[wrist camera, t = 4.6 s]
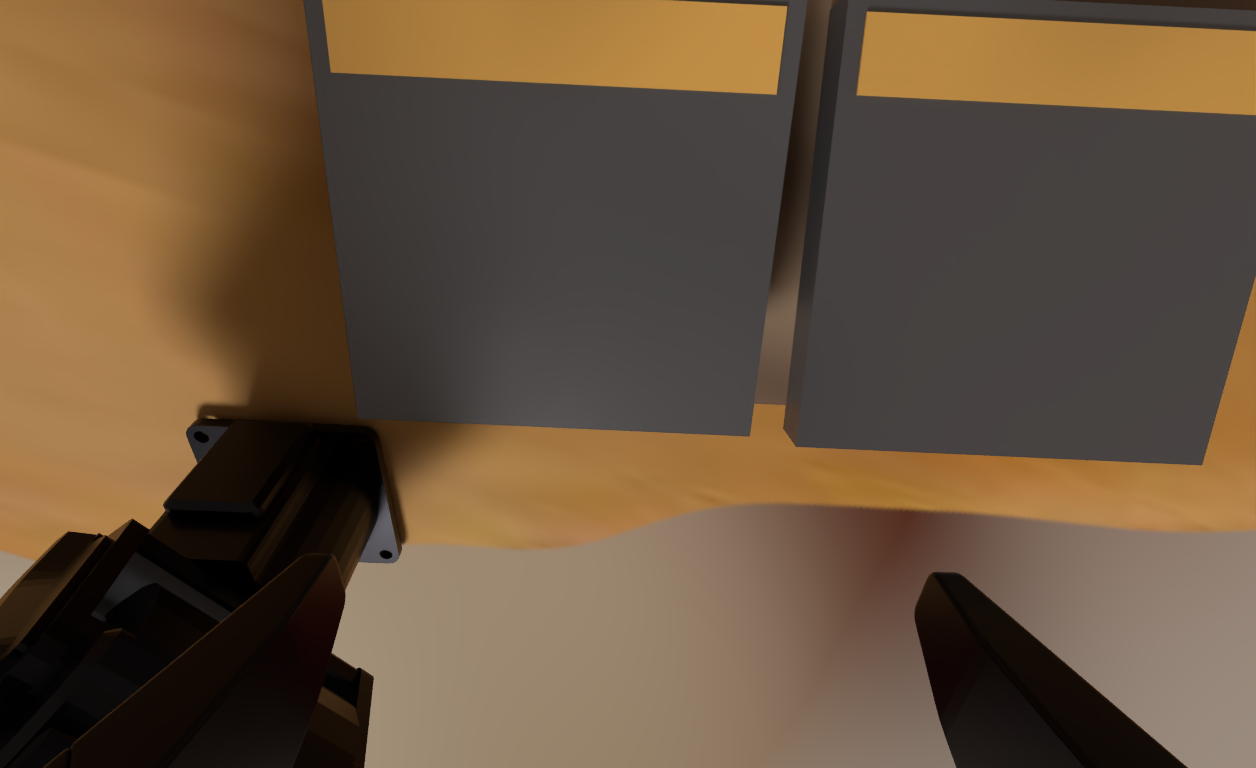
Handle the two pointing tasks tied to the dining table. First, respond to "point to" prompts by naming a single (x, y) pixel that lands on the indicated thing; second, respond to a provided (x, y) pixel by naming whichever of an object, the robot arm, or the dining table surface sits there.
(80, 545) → the robot arm
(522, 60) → the block
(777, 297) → the switch unit
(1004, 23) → the rocker outer
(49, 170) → the dining table surface
